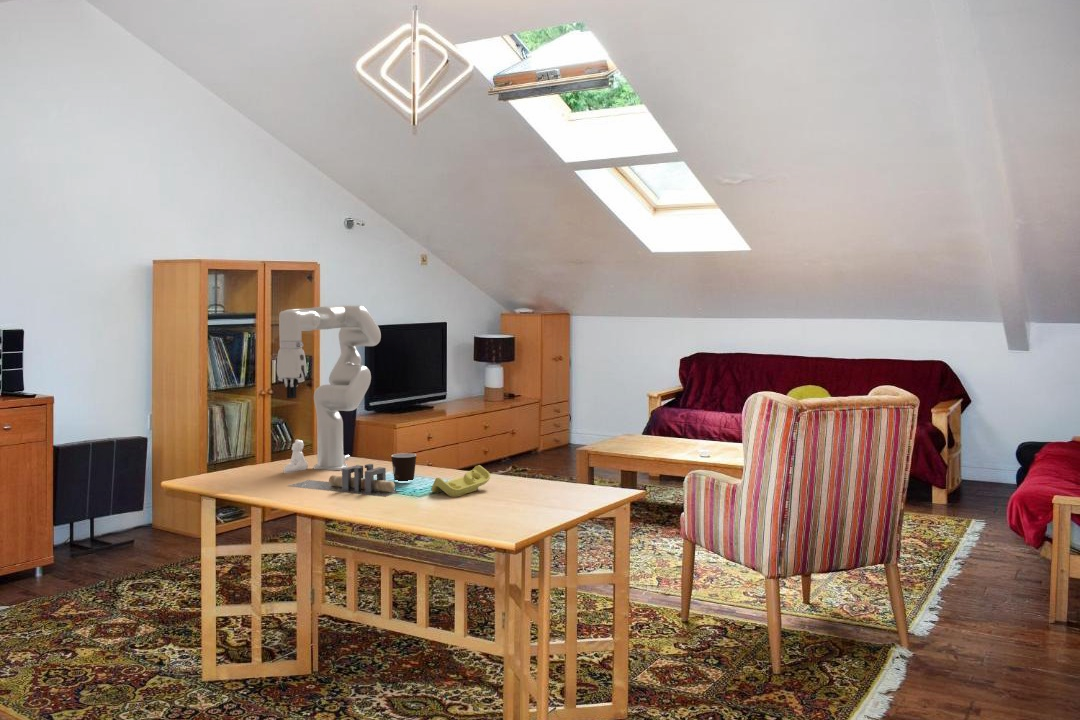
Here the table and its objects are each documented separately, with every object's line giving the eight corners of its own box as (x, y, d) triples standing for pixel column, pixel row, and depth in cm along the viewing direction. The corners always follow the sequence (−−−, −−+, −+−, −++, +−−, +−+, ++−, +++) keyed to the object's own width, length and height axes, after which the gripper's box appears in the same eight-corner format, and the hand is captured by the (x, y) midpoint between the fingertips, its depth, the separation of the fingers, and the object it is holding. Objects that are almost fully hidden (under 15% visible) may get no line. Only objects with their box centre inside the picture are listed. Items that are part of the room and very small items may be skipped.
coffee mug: (414, 486, 328) (414, 457, 328) (389, 486, 329) (389, 457, 328) (419, 480, 340) (419, 451, 339) (395, 479, 340) (395, 451, 339)
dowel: (327, 484, 323) (330, 474, 324) (333, 487, 326) (336, 477, 327) (387, 490, 312) (390, 480, 314) (393, 493, 315) (395, 483, 317)
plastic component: (454, 491, 310) (434, 474, 315) (448, 509, 313) (428, 493, 318) (496, 477, 325) (476, 462, 330) (490, 495, 328) (470, 479, 333)
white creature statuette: (285, 469, 361) (284, 437, 360) (309, 468, 362) (308, 437, 362) (283, 473, 351) (282, 441, 351) (307, 473, 353) (307, 440, 352)
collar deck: (309, 482, 336) (308, 457, 335) (406, 492, 319) (405, 466, 318) (286, 488, 325) (285, 462, 324) (385, 499, 308) (385, 472, 307)
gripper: (314, 345, 337) (315, 398, 338) (281, 344, 343) (281, 396, 345) (300, 346, 330) (301, 400, 331) (266, 345, 337) (267, 398, 338)
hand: (291, 397), depth 338 cm, fingers closed
